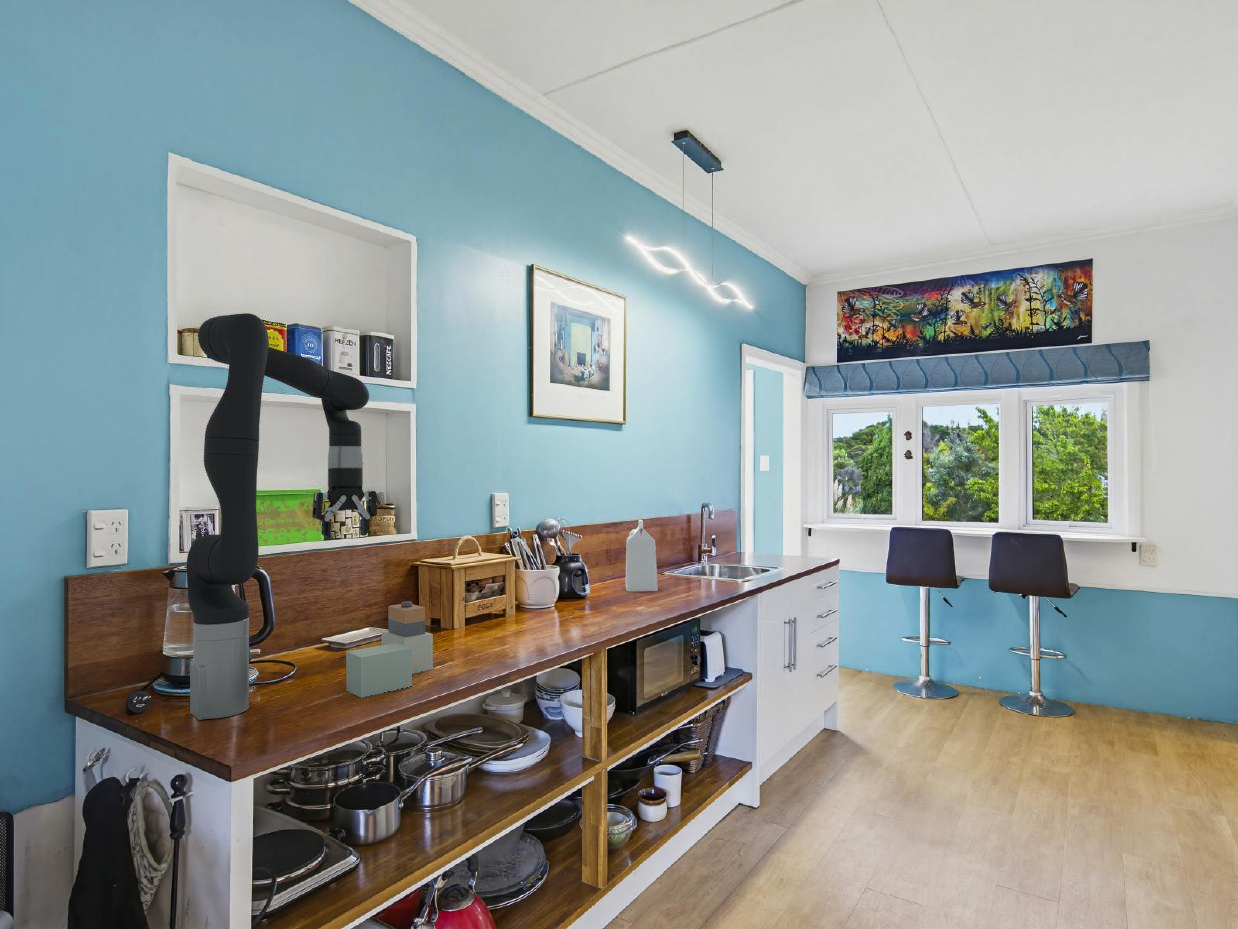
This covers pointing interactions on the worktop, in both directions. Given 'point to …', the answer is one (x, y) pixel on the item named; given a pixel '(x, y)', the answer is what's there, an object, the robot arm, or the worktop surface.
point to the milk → (641, 561)
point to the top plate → (406, 613)
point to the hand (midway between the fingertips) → (345, 536)
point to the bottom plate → (406, 628)
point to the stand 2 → (414, 649)
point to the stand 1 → (378, 669)
